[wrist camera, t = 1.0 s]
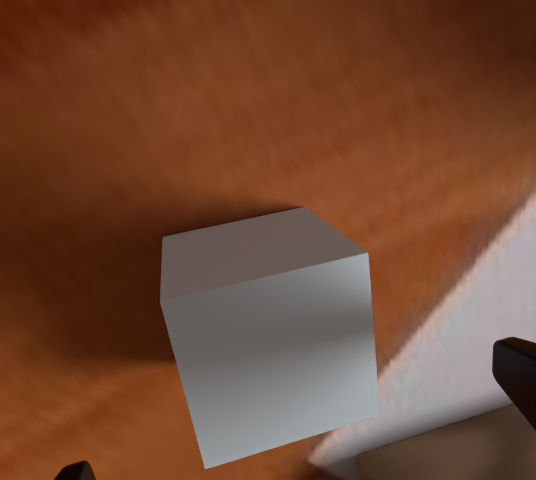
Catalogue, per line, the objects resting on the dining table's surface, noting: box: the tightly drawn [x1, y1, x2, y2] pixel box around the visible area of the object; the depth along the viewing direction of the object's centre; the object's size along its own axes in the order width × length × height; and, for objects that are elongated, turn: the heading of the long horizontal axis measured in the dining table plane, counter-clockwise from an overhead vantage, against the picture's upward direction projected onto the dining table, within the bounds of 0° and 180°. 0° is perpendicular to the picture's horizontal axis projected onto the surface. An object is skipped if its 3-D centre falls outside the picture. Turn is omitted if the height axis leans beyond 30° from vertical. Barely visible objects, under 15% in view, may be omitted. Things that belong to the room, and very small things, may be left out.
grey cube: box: [160, 207, 380, 469], centre depth 13 cm, size 5×5×5 cm
